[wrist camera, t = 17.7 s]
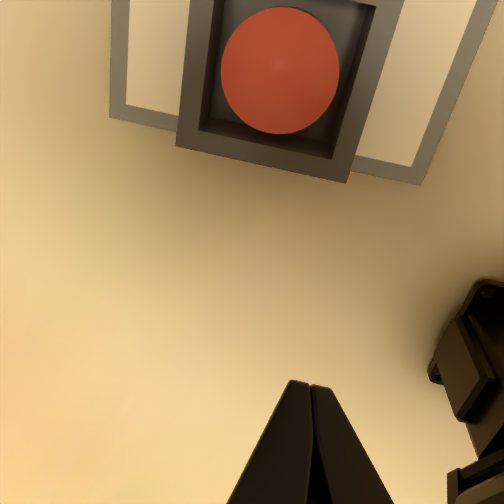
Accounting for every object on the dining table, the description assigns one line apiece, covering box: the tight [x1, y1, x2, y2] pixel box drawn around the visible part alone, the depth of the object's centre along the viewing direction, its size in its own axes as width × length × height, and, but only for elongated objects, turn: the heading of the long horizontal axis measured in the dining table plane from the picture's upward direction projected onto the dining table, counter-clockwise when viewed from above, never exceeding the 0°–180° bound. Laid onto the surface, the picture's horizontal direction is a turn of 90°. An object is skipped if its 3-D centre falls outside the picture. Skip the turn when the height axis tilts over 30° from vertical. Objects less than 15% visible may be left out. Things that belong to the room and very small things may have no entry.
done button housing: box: [176, 0, 405, 183], centre depth 15 cm, size 6×6×3 cm
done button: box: [221, 6, 339, 134], centre depth 14 cm, size 4×4×2 cm
